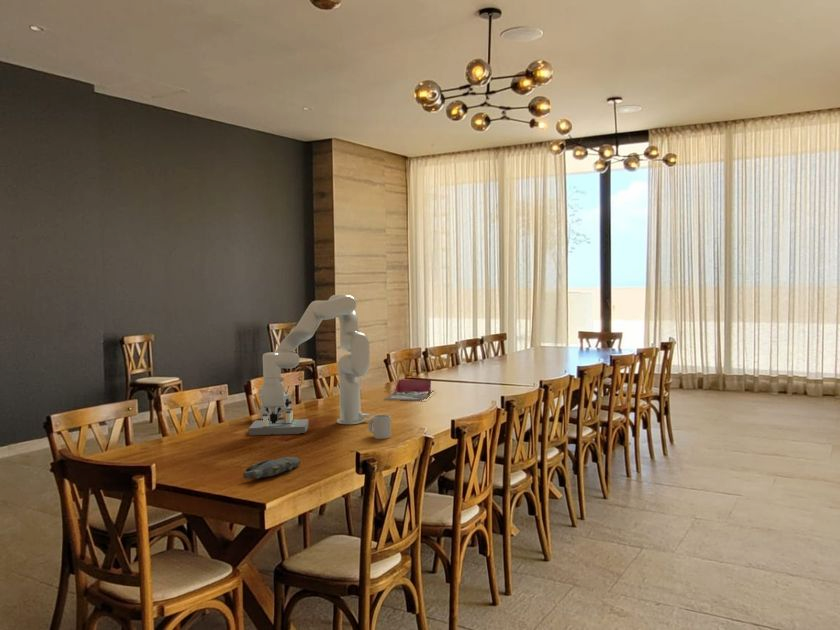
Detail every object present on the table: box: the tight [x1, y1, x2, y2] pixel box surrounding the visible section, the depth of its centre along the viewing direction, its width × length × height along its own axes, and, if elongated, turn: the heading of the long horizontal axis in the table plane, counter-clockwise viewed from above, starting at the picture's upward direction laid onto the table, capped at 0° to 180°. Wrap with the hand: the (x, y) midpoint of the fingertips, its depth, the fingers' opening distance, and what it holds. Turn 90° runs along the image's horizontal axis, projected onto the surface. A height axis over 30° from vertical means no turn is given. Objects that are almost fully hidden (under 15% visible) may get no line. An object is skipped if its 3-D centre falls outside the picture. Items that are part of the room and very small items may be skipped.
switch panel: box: [248, 418, 309, 436], centre depth 311 cm, size 24×17×3 cm
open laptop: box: [383, 379, 435, 402], centre depth 400 cm, size 24×35×8 cm
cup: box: [368, 414, 392, 440], centre depth 294 cm, size 7×10×9 cm
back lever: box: [287, 407, 294, 420], centre depth 317 cm, size 2×3×5 cm
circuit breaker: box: [258, 387, 292, 420], centre depth 338 cm, size 8×14×15 cm, turn 78°
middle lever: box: [284, 410, 291, 423], centre depth 311 cm, size 2×3×5 cm
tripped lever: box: [262, 413, 268, 427], centre depth 304 cm, size 2×3×5 cm
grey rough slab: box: [242, 456, 301, 480], centre depth 241 cm, size 5×25×15 cm
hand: (273, 422), depth 304 cm, fingers closed
